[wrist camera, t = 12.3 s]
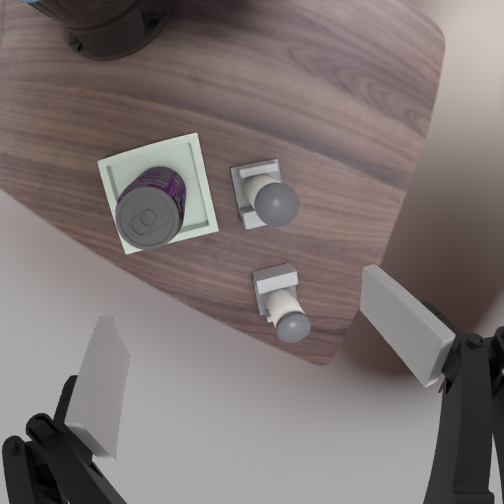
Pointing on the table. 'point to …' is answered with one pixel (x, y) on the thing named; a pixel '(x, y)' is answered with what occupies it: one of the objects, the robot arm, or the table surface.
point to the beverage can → (151, 208)
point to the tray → (176, 158)
